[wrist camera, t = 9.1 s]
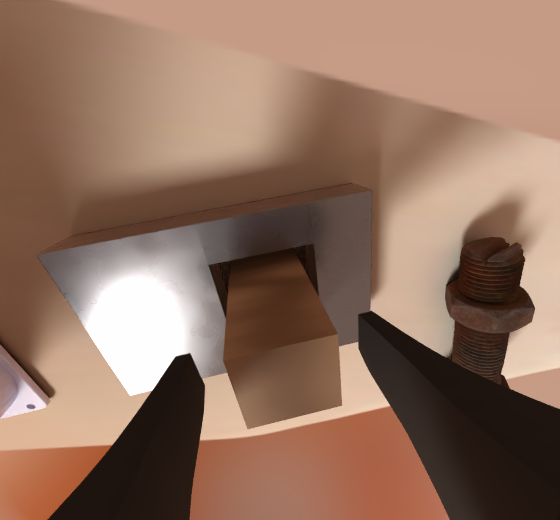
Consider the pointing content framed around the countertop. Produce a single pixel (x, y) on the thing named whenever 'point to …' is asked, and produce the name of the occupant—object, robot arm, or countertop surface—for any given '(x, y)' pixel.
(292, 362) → the pin
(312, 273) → the collar plate
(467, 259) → the bolt
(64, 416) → the countertop surface
